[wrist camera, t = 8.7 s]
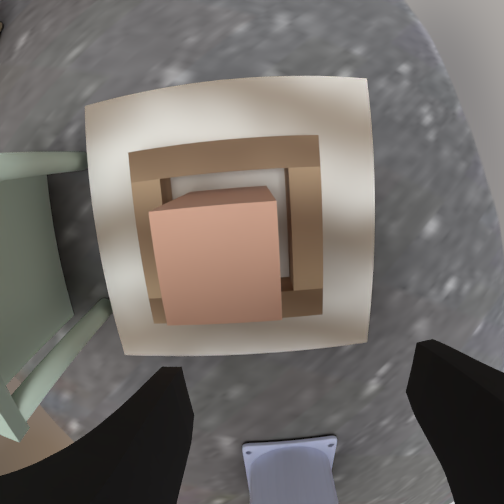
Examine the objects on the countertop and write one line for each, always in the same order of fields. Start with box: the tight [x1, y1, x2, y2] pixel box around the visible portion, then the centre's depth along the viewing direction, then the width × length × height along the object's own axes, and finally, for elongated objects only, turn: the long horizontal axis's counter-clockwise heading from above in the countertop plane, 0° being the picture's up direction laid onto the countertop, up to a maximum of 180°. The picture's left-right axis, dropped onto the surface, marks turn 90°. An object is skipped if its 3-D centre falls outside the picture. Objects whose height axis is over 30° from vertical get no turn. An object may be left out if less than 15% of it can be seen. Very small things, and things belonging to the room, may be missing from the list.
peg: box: [149, 186, 282, 326], centre depth 13 cm, size 4×4×7 cm
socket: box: [85, 76, 375, 356], centre depth 16 cm, size 16×16×3 cm
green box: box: [0, 151, 113, 442], centre depth 12 cm, size 11×6×12 cm, turn 4°
